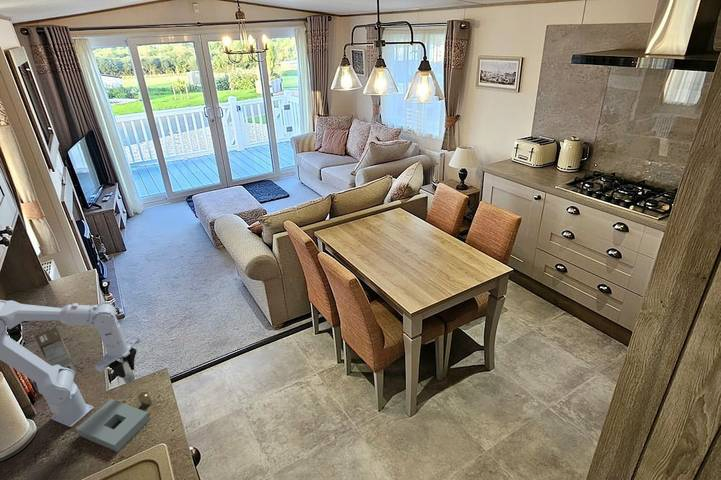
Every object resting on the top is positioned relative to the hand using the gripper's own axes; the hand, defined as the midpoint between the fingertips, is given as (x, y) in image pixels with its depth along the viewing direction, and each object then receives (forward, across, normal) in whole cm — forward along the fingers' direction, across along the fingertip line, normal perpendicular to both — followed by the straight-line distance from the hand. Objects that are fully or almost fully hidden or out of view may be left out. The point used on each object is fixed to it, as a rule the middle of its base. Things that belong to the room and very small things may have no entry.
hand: (126, 372), depth 132 cm
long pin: (+3, 0, 0) cm, 3 cm away
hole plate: (+10, -12, -5) cm, 16 cm away
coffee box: (+10, 0, +34) cm, 36 cm away
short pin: (+10, -2, -7) cm, 12 cm away
